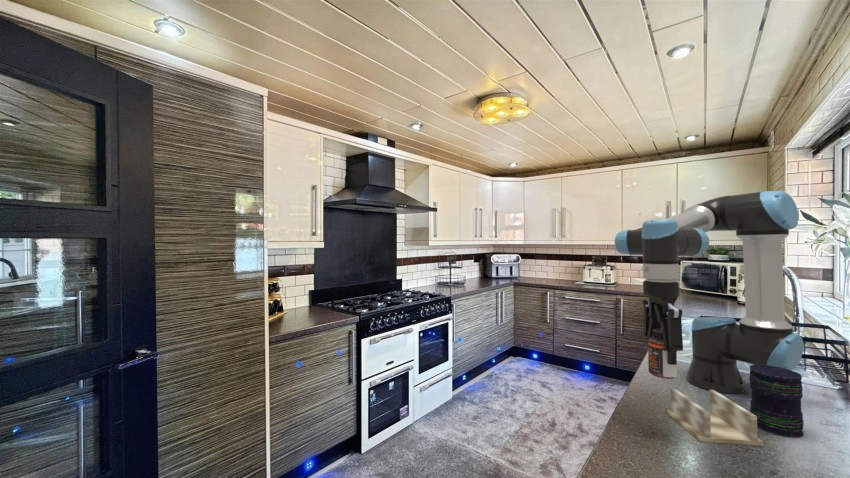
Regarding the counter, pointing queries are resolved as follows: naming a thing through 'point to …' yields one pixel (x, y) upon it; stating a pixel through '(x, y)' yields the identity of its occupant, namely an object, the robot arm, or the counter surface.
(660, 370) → the supplement bottle
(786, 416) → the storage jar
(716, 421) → the docking cradle
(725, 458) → the counter surface
